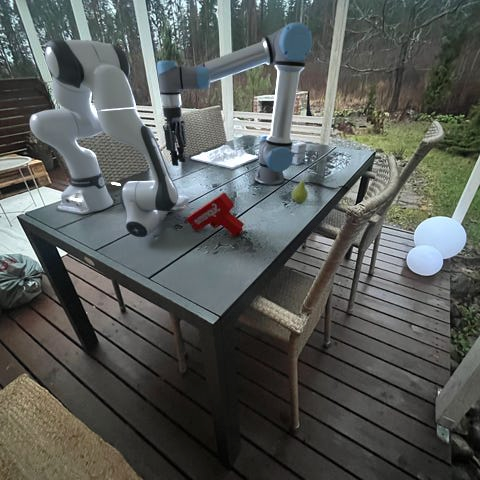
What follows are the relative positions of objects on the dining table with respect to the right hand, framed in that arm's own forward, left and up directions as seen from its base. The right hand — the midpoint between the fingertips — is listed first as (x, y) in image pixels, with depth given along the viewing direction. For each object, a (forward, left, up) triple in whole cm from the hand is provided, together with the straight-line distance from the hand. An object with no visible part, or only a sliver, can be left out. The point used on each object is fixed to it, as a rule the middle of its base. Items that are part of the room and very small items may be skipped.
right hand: (178, 163), depth 122 cm
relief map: (+2, -61, -15) cm, 63 cm away
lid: (0, 0, +4) cm, 4 cm away
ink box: (-45, -66, -15) cm, 81 cm away
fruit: (-54, -8, -15) cm, 57 cm away
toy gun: (-28, +27, -15) cm, 42 cm away
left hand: (-3, +15, -8) cm, 18 cm away
